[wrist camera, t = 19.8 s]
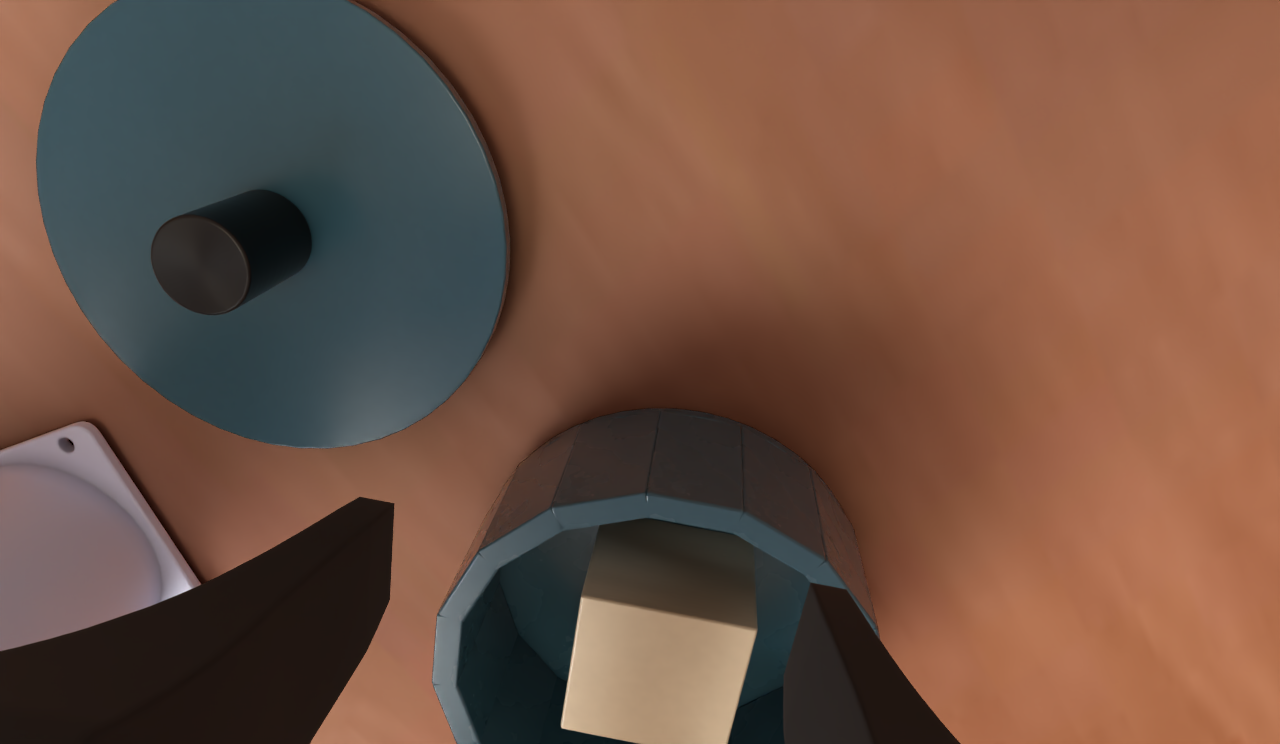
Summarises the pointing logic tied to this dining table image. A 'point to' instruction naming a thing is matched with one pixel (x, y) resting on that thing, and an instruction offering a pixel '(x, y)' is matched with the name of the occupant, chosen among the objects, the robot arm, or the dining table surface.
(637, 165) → the dining table surface
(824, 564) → the tin
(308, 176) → the tin lid
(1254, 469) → the dining table surface
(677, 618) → the block
